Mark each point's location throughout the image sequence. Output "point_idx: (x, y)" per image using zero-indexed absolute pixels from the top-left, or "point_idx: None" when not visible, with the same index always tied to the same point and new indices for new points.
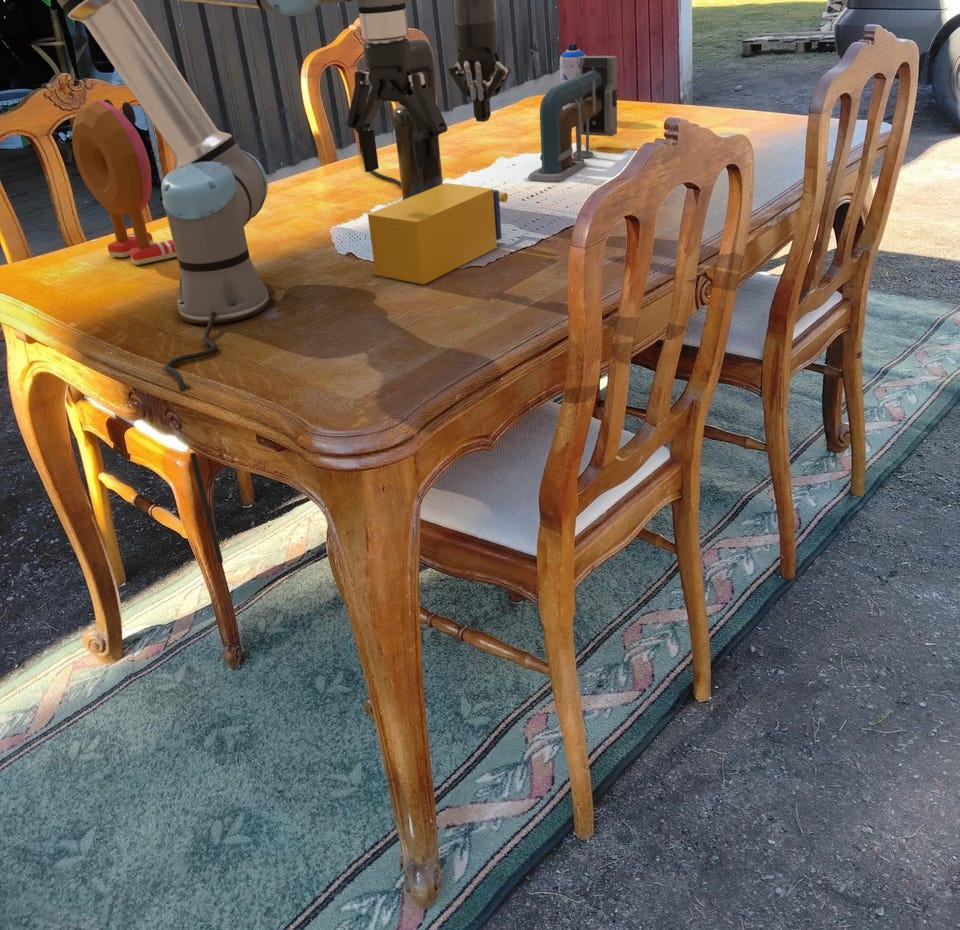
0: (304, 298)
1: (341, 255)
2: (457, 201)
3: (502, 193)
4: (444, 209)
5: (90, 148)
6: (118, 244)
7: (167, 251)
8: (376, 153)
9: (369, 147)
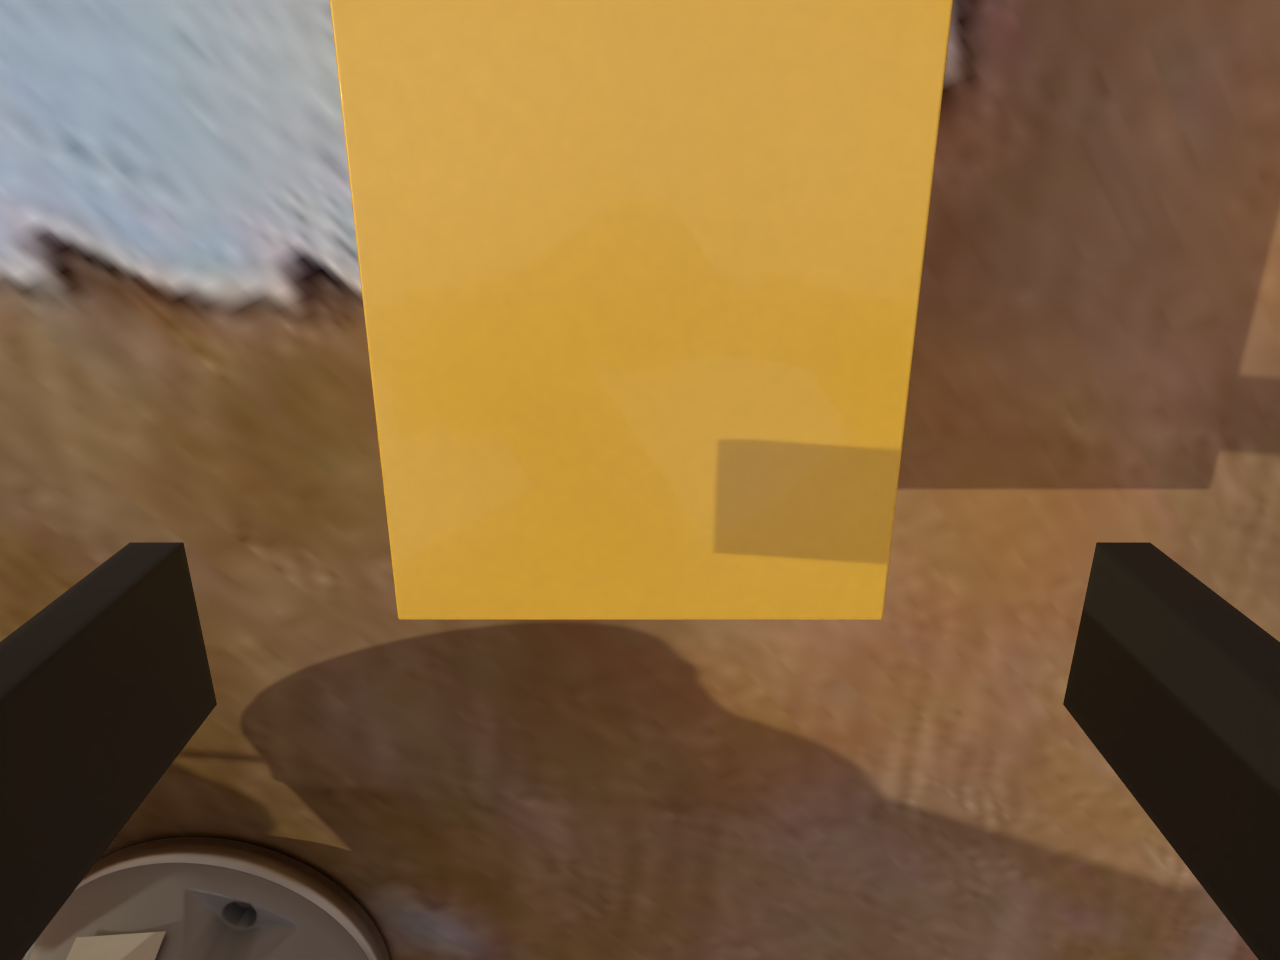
0: (411, 787)
1: (44, 299)
2: (893, 14)
3: None
4: (915, 288)
5: None
6: None
7: None
8: (75, 650)
9: (27, 846)
